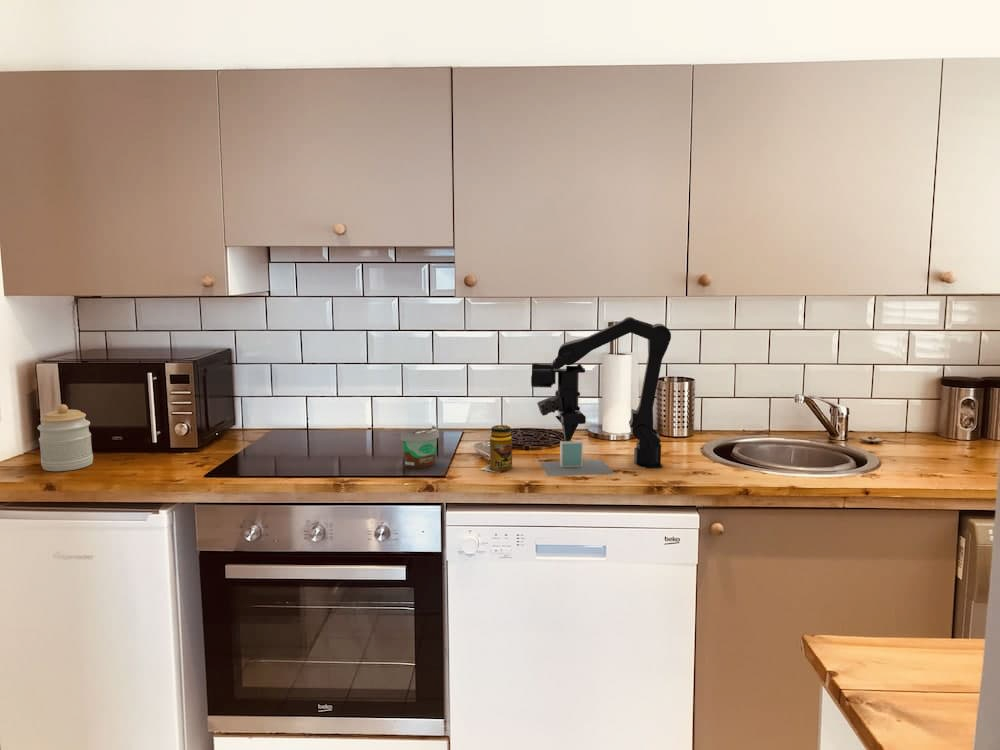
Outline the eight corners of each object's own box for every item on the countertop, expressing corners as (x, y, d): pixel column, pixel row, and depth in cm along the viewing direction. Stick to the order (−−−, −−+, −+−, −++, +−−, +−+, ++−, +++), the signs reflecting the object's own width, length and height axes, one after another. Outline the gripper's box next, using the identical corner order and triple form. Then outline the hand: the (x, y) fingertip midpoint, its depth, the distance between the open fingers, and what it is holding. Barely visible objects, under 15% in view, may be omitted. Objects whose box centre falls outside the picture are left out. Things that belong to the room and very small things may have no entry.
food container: (416, 472, 216) (415, 436, 214) (401, 467, 220) (400, 432, 219) (448, 462, 225) (448, 428, 223) (434, 459, 229) (433, 425, 228)
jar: (104, 461, 228) (99, 401, 225) (68, 473, 215) (62, 410, 213) (67, 458, 231) (61, 399, 228) (30, 470, 219) (23, 407, 216)
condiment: (505, 474, 214) (505, 430, 212) (478, 469, 218) (478, 427, 216) (518, 467, 220) (518, 425, 218) (492, 463, 224) (491, 422, 222)
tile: (581, 464, 221) (581, 440, 219) (582, 466, 219) (582, 441, 218) (559, 465, 220) (560, 441, 219) (561, 467, 218) (561, 442, 217)
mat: (601, 461, 226) (601, 460, 226) (614, 475, 212) (614, 473, 212) (539, 464, 224) (539, 462, 223) (548, 477, 210) (548, 475, 210)
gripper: (534, 382, 229) (534, 435, 232) (545, 394, 211) (545, 451, 214) (572, 382, 231) (571, 434, 233) (586, 393, 212) (585, 450, 215)
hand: (567, 442), depth 224 cm, fingers closed
